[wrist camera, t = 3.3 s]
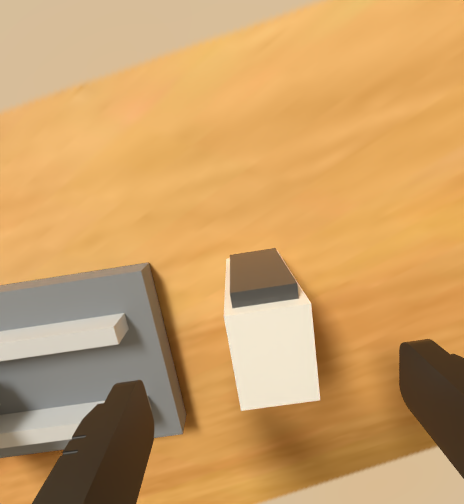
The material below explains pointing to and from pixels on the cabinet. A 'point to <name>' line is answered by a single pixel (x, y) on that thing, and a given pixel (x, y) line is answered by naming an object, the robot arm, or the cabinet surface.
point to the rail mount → (80, 355)
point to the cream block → (269, 332)
